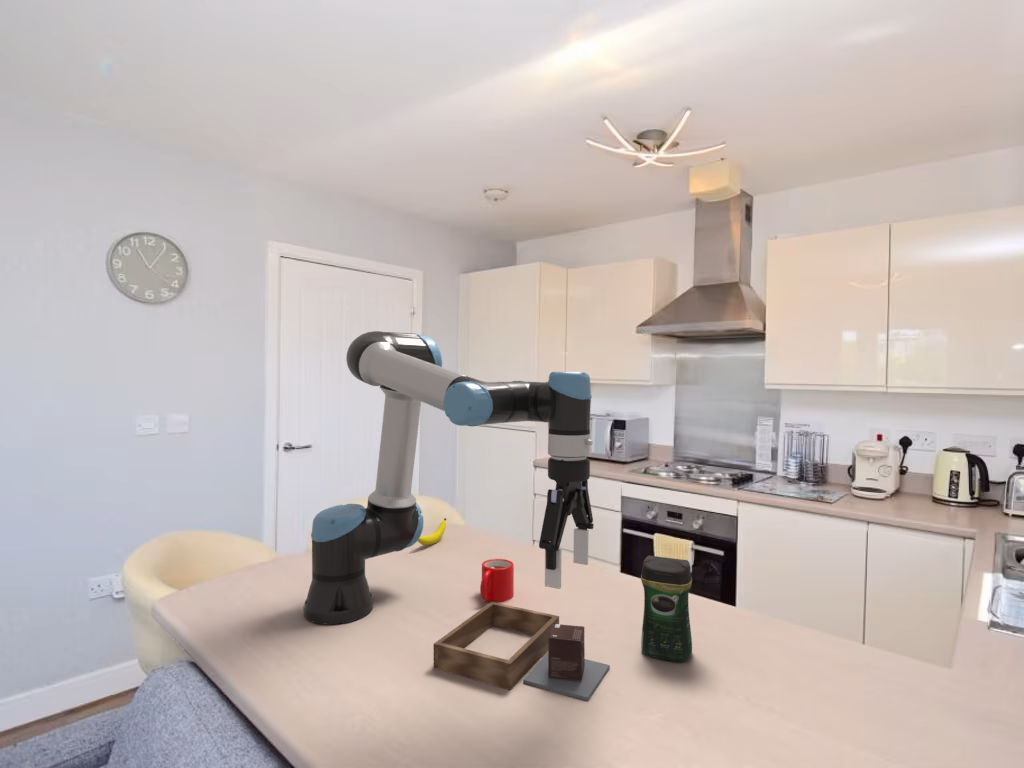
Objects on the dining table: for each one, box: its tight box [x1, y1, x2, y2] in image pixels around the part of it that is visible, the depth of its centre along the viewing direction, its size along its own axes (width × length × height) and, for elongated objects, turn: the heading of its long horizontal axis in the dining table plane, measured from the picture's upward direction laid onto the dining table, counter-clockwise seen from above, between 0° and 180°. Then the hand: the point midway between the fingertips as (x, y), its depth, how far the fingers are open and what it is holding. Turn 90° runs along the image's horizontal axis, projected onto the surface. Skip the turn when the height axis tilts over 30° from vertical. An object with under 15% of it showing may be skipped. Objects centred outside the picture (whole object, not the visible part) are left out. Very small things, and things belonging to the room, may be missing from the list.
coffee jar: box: [640, 555, 693, 663], centre depth 111 cm, size 10×8×19 cm
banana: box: [417, 518, 447, 546], centre depth 181 cm, size 3×19×6 cm, turn 158°
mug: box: [479, 558, 515, 603], centre depth 138 cm, size 8×12×8 cm, turn 157°
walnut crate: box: [433, 601, 560, 691], centre depth 111 cm, size 16×22×4 cm
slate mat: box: [522, 652, 611, 702], centre depth 102 cm, size 12×12×1 cm
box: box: [547, 623, 586, 681], centre depth 102 cm, size 6×6×7 cm
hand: (567, 574), depth 102 cm, fingers open, 13 cm apart
